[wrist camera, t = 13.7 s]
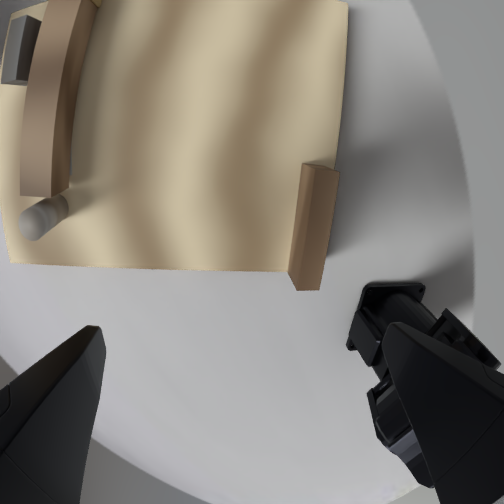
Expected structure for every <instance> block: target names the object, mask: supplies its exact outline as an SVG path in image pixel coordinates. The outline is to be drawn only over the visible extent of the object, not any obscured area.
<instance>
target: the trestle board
mask: <svg viewBox="0 0 504 504" xmlns="http://www.w3.org/2000/svg"><path fill="white" fill-rule="evenodd" d="M47 4H48V1H46V2H43V3H40V4H36V5H33V6H30V7H27V8H25V9H22V10H19V11H16V12H14V13H11V17H10V21H9V25H8V30H7V34H6V39H5V45H4V50H3V56H2V63H1V70H0V206H1V214H2V221H3V227H4V233H5V239H6V244H7V249H8V254H9V258H10V263H22V264H41V265H61V266H83V267H108V268H136V269H168V270H208V271H263V272H288V274H289V276H290V278H291V280H292V282H293V284H294V286H295V288H296V290H297V291H305V290H319V289H320V284H321V279H322V274H323V269H324V264H325V259H326V254H327V248H328V243H329V237H330V232H331V226H332V220H333V214H334V208H335V202H336V196H337V189H338V182H339V175H340V172H338V171H336V170H334V169H335V161H336V153H337V145H338V137H339V128H340V119H341V109H342V99H343V88H344V76H345V62H346V47H347V27H348V3H345V2H341V1H338V0H102V2H101V5H100V8H97V11H96V14H95V17H94V21H93V24H92V28H91V32H90V36H89V39H88V44H87V48H86V52H85V56H84V61H83V66H82V71H81V76H80V81H79V87H78V93H77V100H76V107H75V114H74V122H73V131H72V142H71V155H70V172H69V188H68V189H66V190H64V191H63V192H61V193H59V194H57V195H55V196H54V197H52V198H44V197H30V196H20V149H21V133H22V122H23V112H24V104H25V97H26V90H27V84H28V78H29V73H30V68H31V63H32V58H33V54H34V49H35V45H36V41H37V37H38V34H39V30H40V27H41V23H42V20H43V17H44V13H45V10H46V7H47Z"/></svg>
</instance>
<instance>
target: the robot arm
mask: <svg viewBox="0 0 504 504" xmlns="http://www.w3.org/2000/svg"><path fill="white" fill-rule="evenodd" d="M420 288H421V289H420ZM369 290H370V292H368V291H369ZM367 292H368V293H367ZM424 292H425V286H424V285H423V284H422V283H404V284H369V285H366V286H365V287H364V288H363V290H362V294H361V297H360V301H359V304H358V308H357V310H356V312H355V315H354V319H353V322H352V325H351V328H350V331H349V337H348V340H347V343H346V347H347V348H348V350H349V351H353V350H358V352H359V353H360V355H361V357H362V358H363V360H364V362H365V363H366V365H367V366H368V367H371V366H372V368H373V369H374V371H375V373H376V374H377V376H378V378H379V379H380V382H379V383H378V384H377V385H376V386H375V387H374V388H371V389H370V390H369V391H368V392H367V397H368V401H369V406H370V410H371V414H372V418H373V423H374V427H375V431H376V435H377V438H378V439H379V440H380V441H381V443H382V444H383V445H384V446H385V447H386V448H387V449H388V450H389V451H390V452H392V453H393V454H395V455H397V456H398V457H399V458H400V459H401V460H402V461H403V462H404V463H405V465H406V466H407V467H408V469H409V470H410V471H411V473H412V474H413V476H414V477H415V479H416V480H417V482H418V483H419V484H421V485H424V486H426V487H428V488H434V487H435V489H436V492H437V495H438V498H439V501H440V504H504V374H502V373H500V372H498V371H496V370H497V369H498V368H499V367H500V365H501V363H500V362H499V360H497V358H496V357H495V356H494V355H493V354H492V353H491V352H490V351H489V350H488V348H486V346H485V345H484V344H483V343H482V342H481V341H480V340H479V339H478V338H477V337H476V336H475V335H474V334H473V333H472V332H471V331H470V330H469V329H468V328H467V327H466V326H465V325H464V324H463V323H462V322H461V321H460V320H459V319H458V318H457V317H455V316H454V315H453V314H452V313H451V312H450V311H449V310H448V309H447V308H445V310H444V311H443V312H442V313H441V314H442V315H441V316H440V318H439V319H437V318H436V317H435V316H434V315H433V314H432V313H431V312H430V311H429V310H428V309H427V308H426V307H425V306H424V305H423V304H422V303H421V300H422V298H423V295H424ZM105 359H106V346H105V342H104V338H103V334H102V330H101V328H100V327H99V326H92V325H87V326H85V327H84V328H82V329H81V330H80V331H78V332H77V333H76V334H74V335H73V336H71V337H70V338H69V339H67V340H66V341H65V342H63V343H62V344H60V345H59V346H58V347H56V348H55V349H54V350H52V351H51V352H50V353H48V354H47V355H46V356H44V357H43V358H42V359H40V360H39V361H38V362H36V363H35V364H34V365H32V366H31V367H30V368H28V369H27V370H26V371H24V372H23V373H22V374H20V375H19V376H18V377H17V378H15V379H14V380H13V381H11V382H10V383H9V385H8V384H7V385H6V386H5V387H4V388H2V389H1V390H0V504H79V503H80V495H81V489H82V483H83V476H84V470H85V465H86V459H87V454H88V449H89V444H90V439H91V434H92V430H93V425H94V421H95V416H96V412H97V408H98V404H99V399H100V393H101V386H102V379H103V372H104V365H105Z"/></svg>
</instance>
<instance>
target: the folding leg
mask: <svg viewBox="0 0 504 504" xmlns="http://www.w3.org/2000/svg"><path fill="white" fill-rule="evenodd" d="M101 2H102V0H48V4H47V7H46V10H45V13H44V17H43V20H42V23H41V27H40V30H39V34H38V37H37V41H36V45H35V49H34V54H33V58H32V63H31V68H30V73H29V78H28V84H27V90H26V97H25V104H24V112H23V122H22V133H21V149H20V196H30V197H44V198H52V197H54V196H55V195H57V194H59V193H61V192H63V191H64V190H66V189H68V188H69V172H70V155H71V142H72V131H73V122H74V114H75V107H76V100H77V93H78V87H79V81H80V76H81V71H82V66H83V61H84V56H85V52H86V48H87V44H88V39H89V36H90V32H91V28H92V24H93V21H94V17H95V14H96V11H97V8H100V5H101Z"/></svg>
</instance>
